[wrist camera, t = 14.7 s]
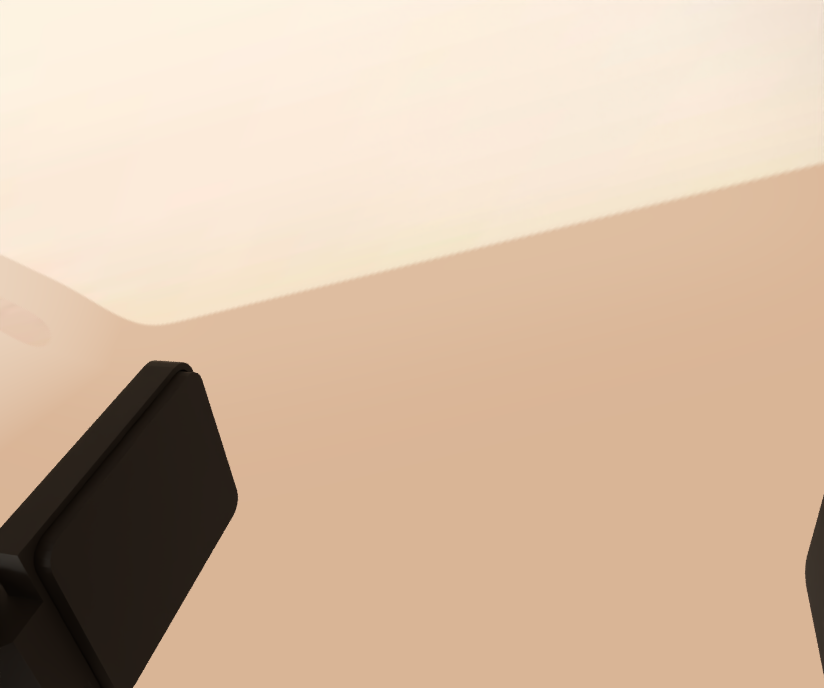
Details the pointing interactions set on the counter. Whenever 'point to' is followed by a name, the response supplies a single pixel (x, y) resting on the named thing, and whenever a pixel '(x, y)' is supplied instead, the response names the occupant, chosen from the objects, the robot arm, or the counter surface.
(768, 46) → the counter surface
